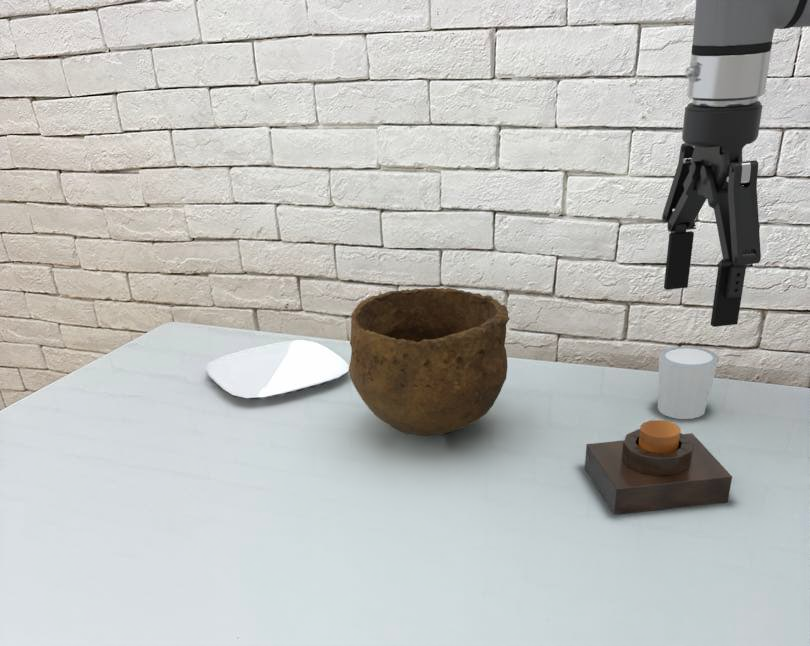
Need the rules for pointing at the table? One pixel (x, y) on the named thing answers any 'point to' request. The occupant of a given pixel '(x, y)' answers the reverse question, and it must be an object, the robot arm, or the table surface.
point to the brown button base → (656, 475)
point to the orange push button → (659, 436)
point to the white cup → (685, 381)
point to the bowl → (429, 357)
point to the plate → (276, 369)
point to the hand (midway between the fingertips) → (698, 305)
